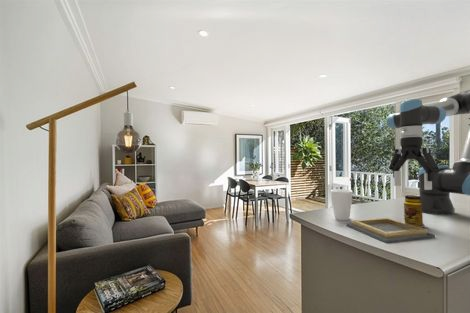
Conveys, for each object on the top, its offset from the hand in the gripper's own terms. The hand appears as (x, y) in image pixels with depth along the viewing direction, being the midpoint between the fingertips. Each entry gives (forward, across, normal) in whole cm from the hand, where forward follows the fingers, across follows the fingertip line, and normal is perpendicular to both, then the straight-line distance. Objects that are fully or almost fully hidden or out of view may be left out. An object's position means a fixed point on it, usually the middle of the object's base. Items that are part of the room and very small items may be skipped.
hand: (411, 187), depth 98 cm
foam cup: (+16, -16, -22) cm, 31 cm away
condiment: (+16, 0, 0) cm, 16 cm away
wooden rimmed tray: (+16, +5, -18) cm, 24 cm away
